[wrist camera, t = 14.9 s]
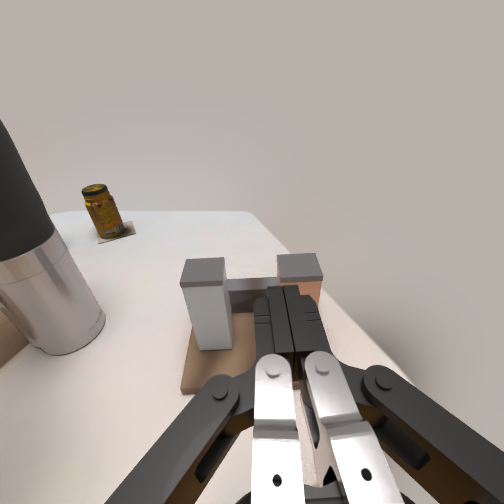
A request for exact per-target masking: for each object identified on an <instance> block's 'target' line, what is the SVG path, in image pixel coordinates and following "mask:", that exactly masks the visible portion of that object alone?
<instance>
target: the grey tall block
mask: <svg viewBox="0 0 504 504" xmlns="http://www.w3.org/2000/svg"><path fill="white" fill-rule="evenodd" d="M180 286H181V288H182V291H183V294H184V298H185V301H186V305H187V308H188V312H189V315H190V319H191V322H192V326H193V329H194V333H195V336H196V340H197V343H198V347H199V350H219V349H232V339H233V321H232V314H231V307H230V299H229V292H228V285H227V278H226V271H225V260H224V257H220V258H201V259H186V262H185V265H184V269H183V272H182V276H181V279H180Z"/></svg>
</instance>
